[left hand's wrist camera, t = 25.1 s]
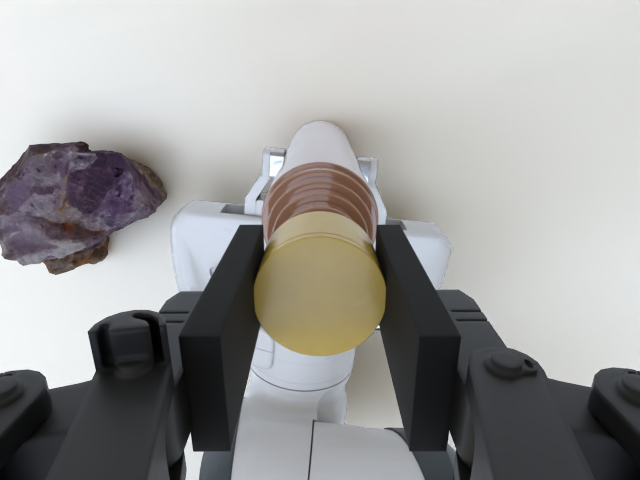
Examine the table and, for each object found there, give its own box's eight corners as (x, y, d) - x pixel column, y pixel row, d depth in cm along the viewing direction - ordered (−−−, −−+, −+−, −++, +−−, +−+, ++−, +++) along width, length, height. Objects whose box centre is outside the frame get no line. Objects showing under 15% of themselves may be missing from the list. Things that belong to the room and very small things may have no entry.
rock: (185, 206, 40) (112, 107, 36) (169, 231, 32) (72, 106, 28) (78, 274, 40) (-4, 182, 37) (35, 316, 32) (-76, 203, 29)
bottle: (354, 175, 38) (415, 348, 13) (296, 185, 38) (254, 373, 14) (344, 115, 36) (395, 189, 12) (284, 126, 36) (212, 222, 12)
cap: (363, 322, 15) (370, 365, 13) (256, 305, 15) (244, 346, 13) (388, 221, 14) (401, 249, 12) (271, 201, 14) (261, 225, 11)
